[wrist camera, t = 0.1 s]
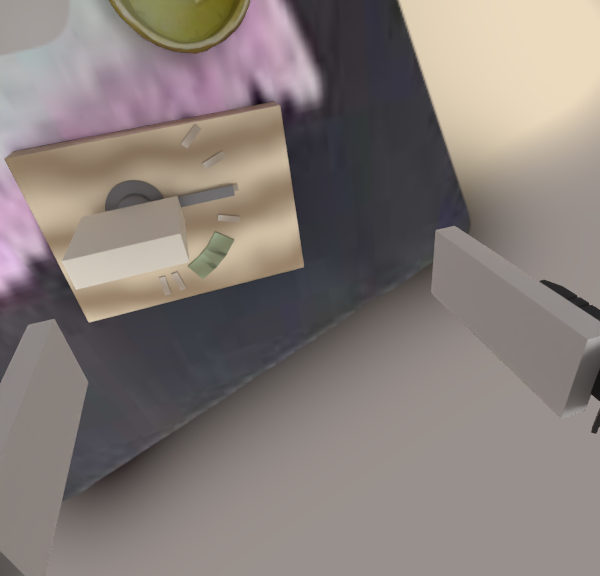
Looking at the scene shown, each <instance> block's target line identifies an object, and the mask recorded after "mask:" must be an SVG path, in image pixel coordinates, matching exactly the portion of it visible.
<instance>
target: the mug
mask: <svg viewBox="0 0 600 576" xmlns="http://www.w3.org/2000/svg"><path fill="white" fill-rule="evenodd" d="M109 1H110V3H111V5H112V6H113V8H114V9H115V10H116V12H117V13H118V14H119V16H120V17H121V18H122V19H123V20H124V21H125V22H126V23H127V24H128V25H129V26H130V27H131V28H133V29H134V30H135V31H136V32H137V33H138V34H139V35H141V36H142V37H143V38H144V39H146V40H148V41H150V42H152V43H154V44H155V45H157V46H160V47H162V48H165V49H168V50H172V51H175V52H183V53H200V52H204V51H207V50H208V49H210V48H212V47H214V46H216V45H217V44H219V43H221V42H223V41H224V40H226V39H227V38H228V37H229V36H230V35H231V34H232V33H233V32H234V31H235V30H236V29H237V28H238V27H239V26H240V24H241V23H242V21H243V19H244V17H245V14H246V12H247V9H248V7H249V4H250V0H109Z"/></svg>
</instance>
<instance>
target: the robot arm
mask: <svg viewBox="0 0 600 576" xmlns="http://www.w3.org/2000/svg"><path fill="white" fill-rule="evenodd" d="M431 293H432V294H433V295H434V296H435V297H436V298H437V299H438V300H439V301H440V302H441V303H442V304H443V305H444V306H445V307H446V308H447V309H448V310H449V311H450V312H451V313H452V314H453V315H454V316H455V317H456V318H458V320H459V321H461V322H462V323H463V324H464V325H465V326H466V327H467V328H468V329H469V330H470V331H471V332H472V333H473V334H474V335H475V336H476V337H477V338H478V339H479V340H480V341H481V342H482V343H483V344H484V345H485V346H486V347H487V348H488V349H489V350H491V351H492V352H493V353H494V354H495V355H496V356H497V357H498V358H499V359H500V360H501V361H502V362H503V363H504V364H505V365H506V366H507V367H508V368H509V369H510V370H511V371H512V372H513V373H514V374H515V375H516V376H517V377H518V378H519V379H520V380H522V381H523V382H524V383H525V384H526V385H527V386H528V387H529V388H530V389H531V390H532V391H533V392H534V393H535V394H536V395H537V396H538V397H539V398H540V399H541V400H542V401H543V402H544V403H545V404H546V405H547V406H548V407H549V408H550V409H551V410H553V411H554V412H555V413H556V414H557V415H558V416H559V417H560V418H564V417H567V416H570V415H573V414H576V413H579V412H582V411H585V409H586V407H587V404H588V401H589V399H590V396H591V394H592V395H593V396H594V397H595V398H597V399H598V400H599V401H600V310H599V309H598V308H596V307H594V306H593V305H589V303H588V302H586V301H585V300H583V299H582V298H578V297H577V295H575V294H574V293H572V292H571V291H569V290H568V289H566V288H564V287H563V286H560V285H557V284H555V283H552V282H549V281H546V280H541V281H538V280H536V279H534V278H533V277H531V276H530V275H529V274H527V273H526V272H524V271H522V270H521V269H519V268H518V267H516V266H515V265H513V264H512V263H510V262H509V261H507V260H506V259H504V258H503V257H501V256H500V255H498V254H497V253H495V252H494V251H492V250H491V249H489V248H487V247H486V246H484V245H483V244H481V243H480V242H478V241H477V240H475V239H474V238H472V237H471V236H469V235H468V234H466V233H465V232H463V231H462V230H460V229H459V228H457V227H456V226H452V227H447V228H443V229H439V230H436V233H435V247H434V261H433V276H432V289H431ZM87 385H88V381H87V379H86V377H85V375H84V373H83V372H82V370H81V368H80V366H79V364H78V362H77V360H76V358H75V357H74V355H73V353H72V351H71V349H70V347H69V345H68V343H67V342H66V340H65V338H64V336H63V334H62V332H61V330H60V329H59V327H58V325H57V323H56V321H55V319H52V320H47V321H43V322H39V323H34V324H30V325H28V326H27V328H26V330H25V333H24V335H23V337H22V339H21V341H20V343H19V345H18V347H17V349H16V352H15V354H14V356H13V358H12V360H11V362H10V364H9V366H8V368H7V371H6V373H5V375H4V377H3V379H2V381H1V383H0V576H45V573H46V569H47V565H48V560H49V556H50V551H51V547H52V542H53V538H54V533H55V529H56V525H57V520H58V516H59V511H60V507H61V502H62V498H63V493H64V489H65V484H66V480H67V475H68V471H69V466H70V462H71V457H72V453H73V448H74V444H75V439H76V435H77V430H78V426H79V421H80V417H81V412H82V408H83V403H84V399H85V394H86V390H87ZM599 427H600V409H599V411H598V414H597V416H596V419H595V421H594V424H593V426H592V431H591V432H592V433H595V434H596V433H597V431H598V428H599Z"/></svg>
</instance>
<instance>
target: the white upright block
mask: <svg viewBox="0 0 600 576" xmlns="http://www.w3.org/2000/svg"><path fill="white" fill-rule="evenodd" d="M230 196H235V194H234V190H233V186H232V184H230V185H226V186H221V187H216V188H212V189H207V190H203V191H198V192H194V193H189V194H185V195H180V196H175V197H170V198H165V199H164V197H163V195H162V194H161V193H160V192H159V191H158V189H156V188H155V187H154V186H152V185H151V184H149V183H146V182H144V181H139V180H128V181H124V182H121V183H119V184H117V185H116V186H114V187H113V188H112V189H111V190H110V192H109V194H108V196H107V198H106V202H105V212H102V213H97V214H93V215H88V216H84V217H82V218H81V220H80V222H79V224H78V227H77V229H76V231H75V233H74V235H73V238H72V240H71V242H70V244H69V246H68V248H67V251H66V253H65V255H64V257H63V259H62V263H63V265H64V267H65V269H66V271H67V273H68V275H69V277H70V279H71V281H72V283H73V285H74V287H75V289H76V290H78V289H82V288H86V287H90V286H94V285H98V284H102V283H106V282H110V281H114V280H118V279H122V278H127V277H131V276H135V275H139V274H143V273H147V272H151V271H155V270H159V269H163V268H167V267H171V266H175V265H180V264H184V263H188V262H189V254H188V245H187V235H186V226H185V219H184V216H183V212H182V209H181V207H186V206H190V205H195V204H199V203H203V202H208V201H212V200H217V199H221V198H226V197H230Z"/></svg>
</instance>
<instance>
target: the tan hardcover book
mask: <svg viewBox="0 0 600 576" xmlns="http://www.w3.org/2000/svg"><path fill="white" fill-rule="evenodd" d="M5 161H6V163H7V165H8V167H9V169H10V171H11V173H12V175H13V177H14V179H15V181H16V182H17V184H18V186H19V188H20V190H21V192H22V194H23V196H24V198H25V200H26V202H27V204H28V206H29V208H30V210H31V212H32V213H33V215H34V217H35V219H36V221H37V223H38V225H39V227H40V229H41V231H42V233H43V235H44V237H45V239H46V241H47V243H48V244H49V246H50V248H51V250H52V252H53V254H54V256H55V258H56V260H57V262H58V264H59V266H60V268H61V270H62V272H63V273H64V275H65V277H66V279H67V281H68V283H69V285H70V287H71V289H72V291H73V293H74V295H75V297H76V299H77V301H78V303H79V304H80V306H81V308H82V310H83V312H84V314H85V316H86V318H87V320H88V322H93V321H97V320H101V319H105V318H108V317H112V316H116V315H120V314H124V313H128V312H132V311H136V310H139V309H143V308H147V307H151V306H155V305H159V304H163V303H167V302H170V301H174V300H178V299H182V298H186V297H190V296H194V295H198V294H201V293H205V292H209V291H213V290H217V289H221V288H225V287H229V286H232V285H236V284H240V283H244V282H248V281H252V280H256V279H260V278H263V277H267V276H271V275H275V274H279V273H283V272H287V271H291V270H294V269H298V268H302V267H304V263H303V256H302V249H301V242H300V236H299V229H298V222H297V216H296V209H295V202H294V195H293V189H292V182H291V175H290V169H289V162H288V155H287V148H286V142H285V135H284V128H283V122H282V115H281V108H280V105H279V104H277V103H275V102H269V103H264V104H258V105H253V106H248V107H243V108H238V109H232V110H227V111H222V112H217V113H212V114H206V115H201V116H196V117H191V118H185V119H180V120H175V121H170V122H165V123H159V124H154V125H149V126H144V127H139V128H133V129H128V130H123V131H118V132H113V133H107V134H102V135H97V136H92V137H86V138H81V139H76V140H71V141H66V142H60V143H55V144H50V145H45V146H40V147H34V148H29V149H24V150H19V151H14V152H13V153H11V154H10V155H9V156H7V157H6V158H5ZM128 180H139V181H144V182H146V183H149V184H151V185H152V186H154V187H155V188H156V189H158V191H159V192H160V193H161V194H162V195H163V197H164V199H165V198H170V197H175V196H180V195H185V194H189V193H194V192H198V191H203V190H207V189H212V188H216V187H221V186H226V185H230V184H232V186H233V190H234V194H235V196H230V197H226V198H221V199H217V200H212V201H208V202H203V203H199V204H195V205H190V206H186V207H181V209H182V212H183V216H184V219H185V226H186V235H187V245H188V254H189V262H188V263H184V264H180V265H175V266H171V267H167V268H163V269H159V270H155V271H151V272H147V273H143V274H139V275H135V276H131V277H127V278H122V279H118V280H114V281H110V282H106V283H102V284H98V285H94V286H90V287H86V288H82V289H78V290H76V289H75V287H74V285H73V283H72V281H71V279H70V277H69V275H68V273H67V271H66V269H65V267H64V265H63V263H62V259H63V257H64V255H65V253H66V251H67V248H68V246H69V244H70V242H71V240H72V238H73V235H74V233H75V231H76V229H77V227H78V224H79V222H80V220H81V218H82V217H84V216H88V215H93V214H97V213H102V212H105V202H106V198H107V196H108V194H109V192H110V190H111V189H112V188H113V187H114V186H116V185H117V184H119V183H121V182H124V181H128Z"/></svg>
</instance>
